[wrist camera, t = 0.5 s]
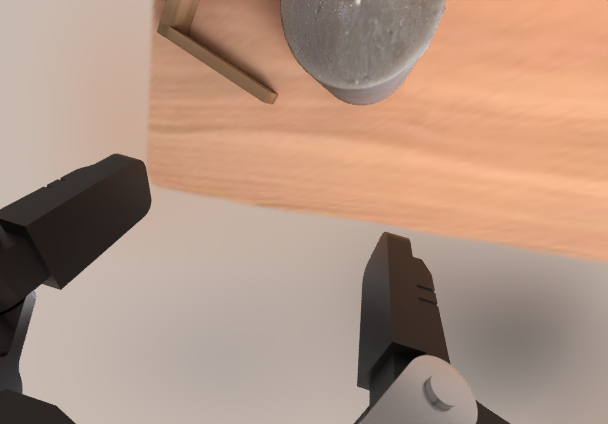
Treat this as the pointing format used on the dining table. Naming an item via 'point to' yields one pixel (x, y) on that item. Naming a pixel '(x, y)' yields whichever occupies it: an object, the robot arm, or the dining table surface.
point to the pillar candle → (360, 42)
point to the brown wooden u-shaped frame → (176, 29)
